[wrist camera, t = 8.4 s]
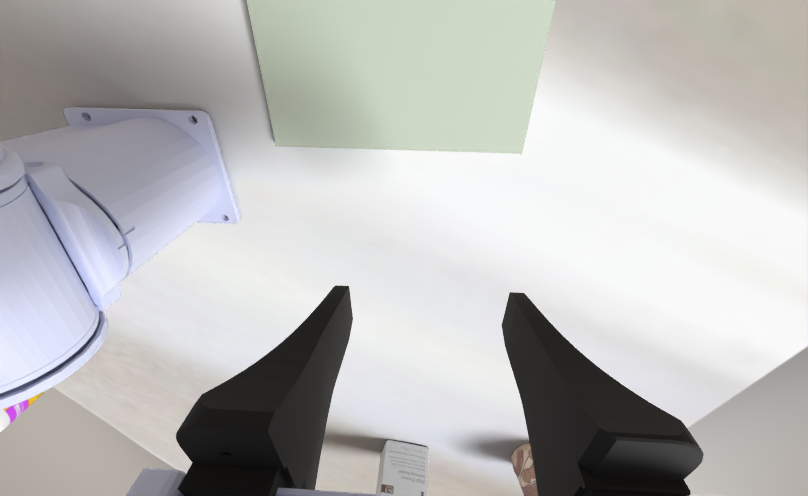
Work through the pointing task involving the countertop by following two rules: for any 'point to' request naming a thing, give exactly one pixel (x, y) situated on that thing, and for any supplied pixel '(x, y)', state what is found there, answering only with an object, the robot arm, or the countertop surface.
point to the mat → (401, 72)
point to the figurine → (525, 469)
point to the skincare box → (403, 470)
